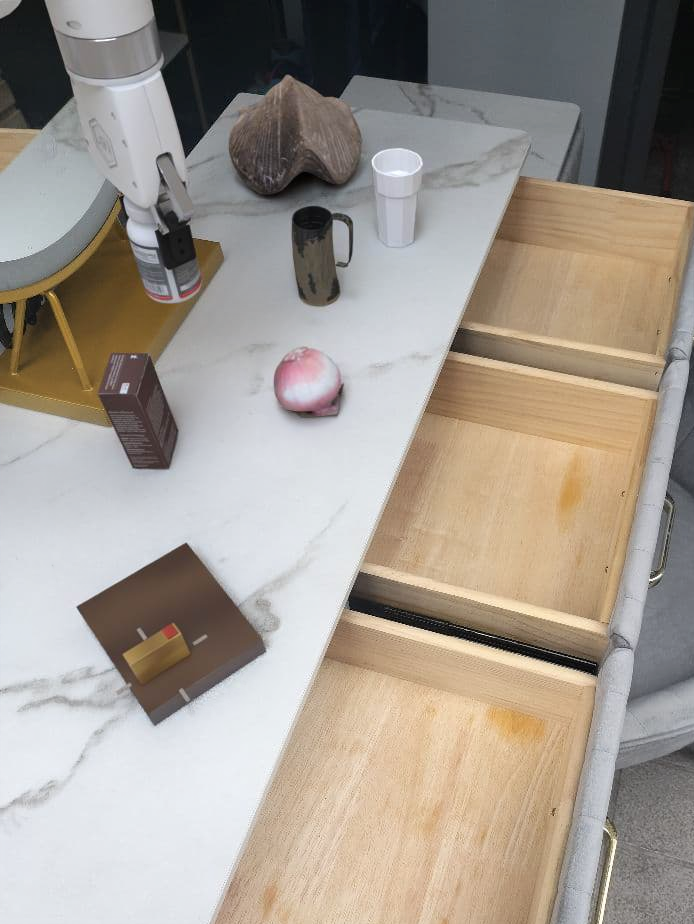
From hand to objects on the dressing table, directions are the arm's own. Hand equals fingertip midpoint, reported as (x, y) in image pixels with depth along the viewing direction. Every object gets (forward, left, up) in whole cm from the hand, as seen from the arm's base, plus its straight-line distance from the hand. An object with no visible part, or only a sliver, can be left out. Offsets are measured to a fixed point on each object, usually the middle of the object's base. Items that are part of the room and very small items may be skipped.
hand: (162, 244), depth 77 cm
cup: (-12, +38, -22) cm, 46 cm away
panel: (+24, -18, -22) cm, 37 cm away
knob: (+28, -21, -20) cm, 39 cm away
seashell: (-33, +36, -22) cm, 54 cm away
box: (+2, -8, -22) cm, 24 cm away
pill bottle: (0, 0, -5) cm, 5 cm away
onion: (+7, +10, -22) cm, 25 cm away
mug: (-8, +23, -22) cm, 33 cm away
